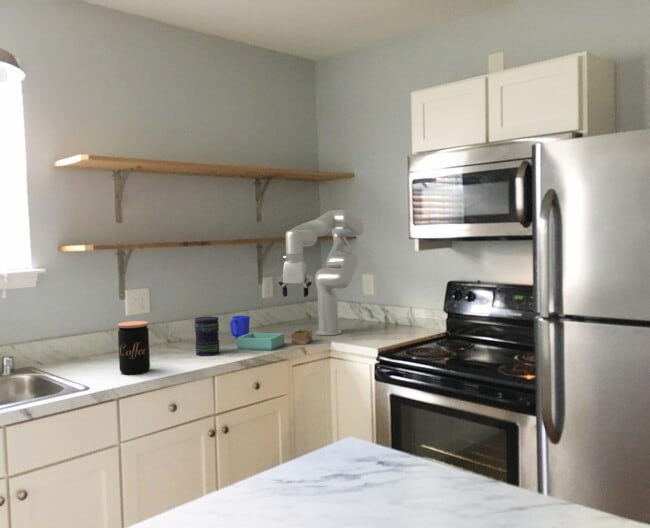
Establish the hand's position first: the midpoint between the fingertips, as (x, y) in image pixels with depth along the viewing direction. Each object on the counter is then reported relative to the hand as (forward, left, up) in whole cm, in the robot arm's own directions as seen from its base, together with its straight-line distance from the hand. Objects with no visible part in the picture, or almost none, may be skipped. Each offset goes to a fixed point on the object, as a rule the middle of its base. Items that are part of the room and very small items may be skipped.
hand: (295, 296), depth 271 cm
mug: (-6, -32, -21) cm, 39 cm away
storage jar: (+30, -28, -21) cm, 46 cm away
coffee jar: (+65, -38, -21) cm, 78 cm away
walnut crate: (-1, +2, -21) cm, 21 cm away
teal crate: (+12, -12, -21) cm, 27 cm away
